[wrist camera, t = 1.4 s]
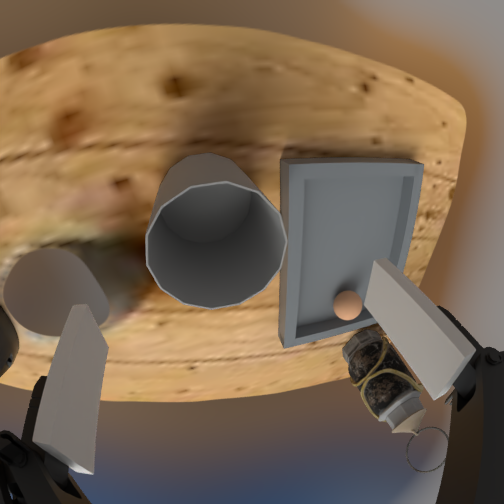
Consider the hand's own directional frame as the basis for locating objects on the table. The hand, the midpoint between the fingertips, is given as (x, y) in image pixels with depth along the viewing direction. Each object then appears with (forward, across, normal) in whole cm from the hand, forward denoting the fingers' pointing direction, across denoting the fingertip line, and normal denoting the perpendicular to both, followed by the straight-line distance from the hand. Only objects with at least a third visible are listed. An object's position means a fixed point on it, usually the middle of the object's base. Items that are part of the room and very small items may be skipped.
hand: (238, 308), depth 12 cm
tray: (+15, +14, -8) cm, 22 cm away
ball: (+15, +14, -14) cm, 25 cm away
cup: (+15, 0, 0) cm, 15 cm away
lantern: (+16, +20, -26) cm, 37 cm away
